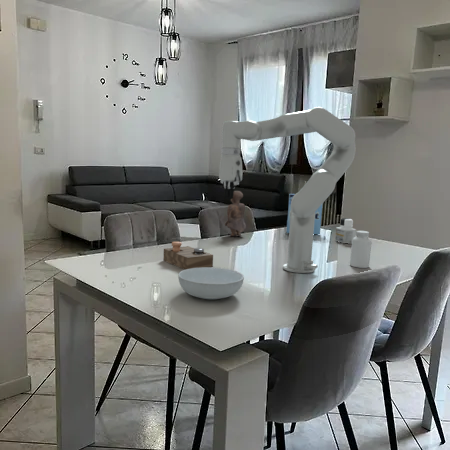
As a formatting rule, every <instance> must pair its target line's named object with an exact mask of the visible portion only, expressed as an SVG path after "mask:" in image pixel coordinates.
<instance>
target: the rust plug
mask: <svg viewBox="0 0 450 450" xmlns="http://www.w3.org/2000/svg"><path fill="white" fill-rule="evenodd" d="M171 246H172V248H173V252H179V251H180V247H183V243H182V242H181V241H171Z"/></svg>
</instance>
